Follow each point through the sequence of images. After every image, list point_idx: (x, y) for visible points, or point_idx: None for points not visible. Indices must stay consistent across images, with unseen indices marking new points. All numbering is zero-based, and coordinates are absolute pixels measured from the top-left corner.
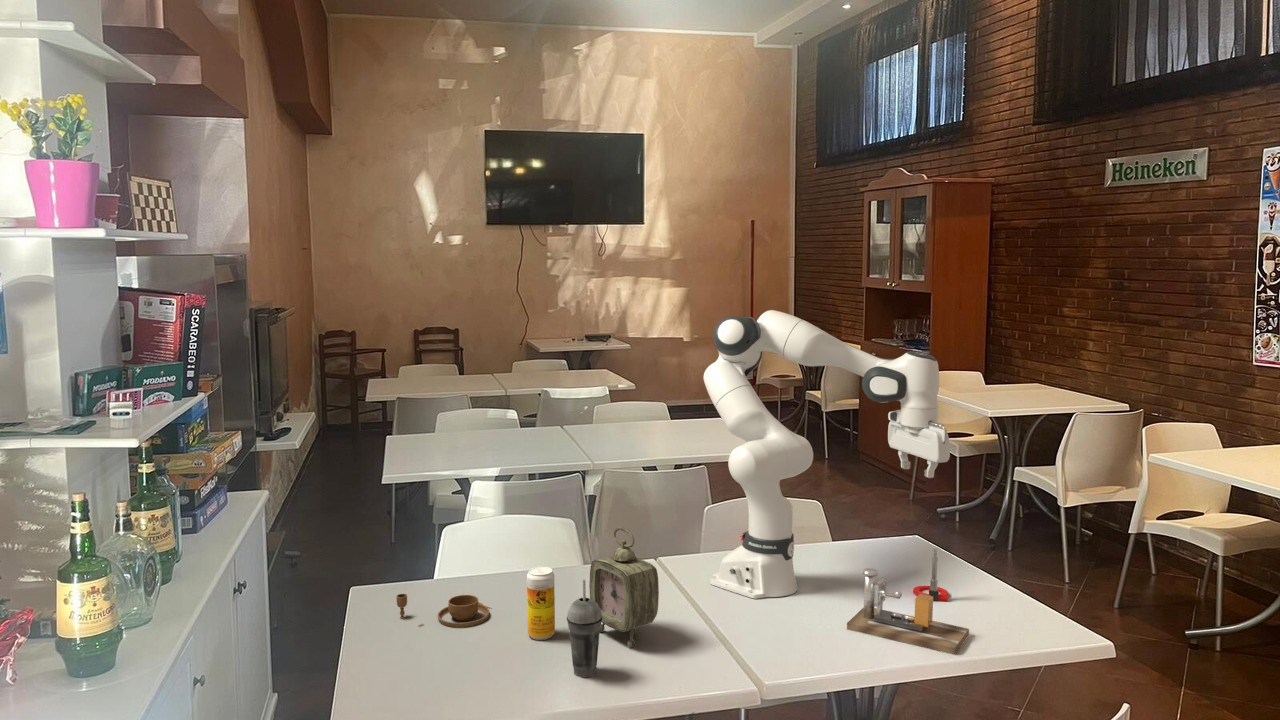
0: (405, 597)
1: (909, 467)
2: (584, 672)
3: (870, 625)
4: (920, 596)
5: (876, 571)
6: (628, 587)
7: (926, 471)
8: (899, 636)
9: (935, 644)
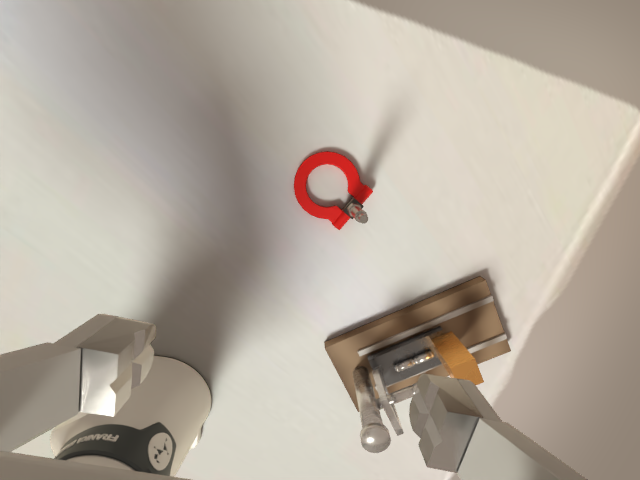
0: None
1: (150, 333)
2: None
3: None
4: (460, 377)
5: (387, 434)
6: None
7: (450, 462)
8: None
9: (483, 361)
